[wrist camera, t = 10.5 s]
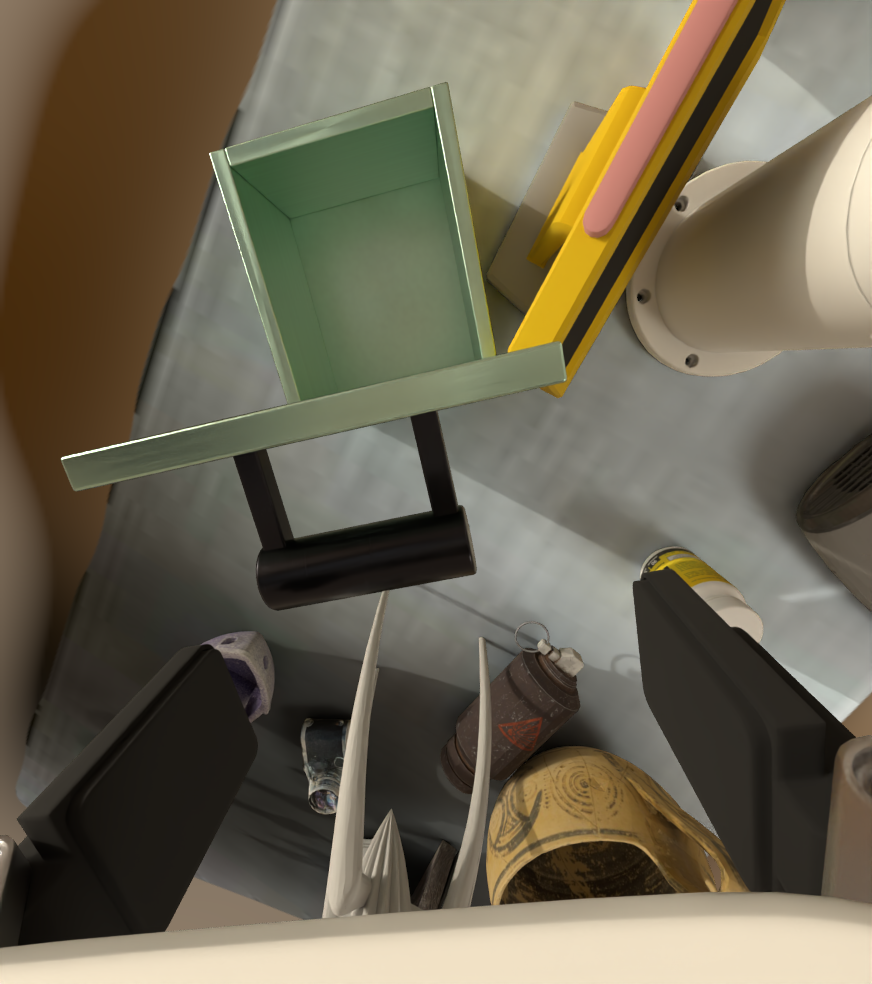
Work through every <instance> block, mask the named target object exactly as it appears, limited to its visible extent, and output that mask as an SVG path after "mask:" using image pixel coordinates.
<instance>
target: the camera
mask: <svg viewBox="0 0 872 984" xmlns="http://www.w3.org/2000/svg"><path fill="white" fill-rule="evenodd" d="M350 724H351V720H346V719H311V718H308V719H305V722H304V723H303V725H302V729H301V745H302V746H301V749H302V755H303V768H304V771H305V773H306V775H307V778H308V781H309V803H310V805H311V807H312V809H314V811H316V812H318V813H321V814H332V813H335V812H336V811H337V805H338V798H339V790H340V783H341V777H342V770H343V763H344V757H345V751H346V746H347V740H348V735H349V729H350Z"/></svg>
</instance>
